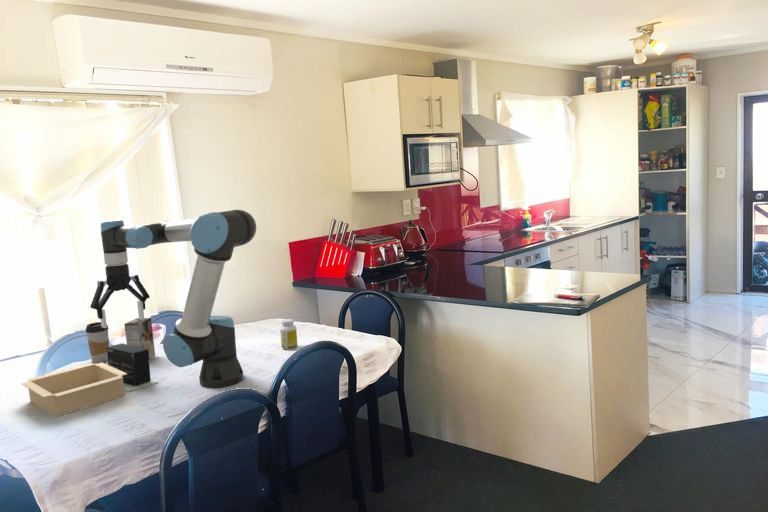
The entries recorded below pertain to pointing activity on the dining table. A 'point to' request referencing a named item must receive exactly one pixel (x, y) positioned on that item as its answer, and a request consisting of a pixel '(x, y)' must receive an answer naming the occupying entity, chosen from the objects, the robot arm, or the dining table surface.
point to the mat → (131, 387)
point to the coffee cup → (98, 342)
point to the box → (130, 362)
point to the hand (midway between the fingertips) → (123, 323)
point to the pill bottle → (288, 334)
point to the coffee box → (140, 334)
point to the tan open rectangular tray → (76, 388)
